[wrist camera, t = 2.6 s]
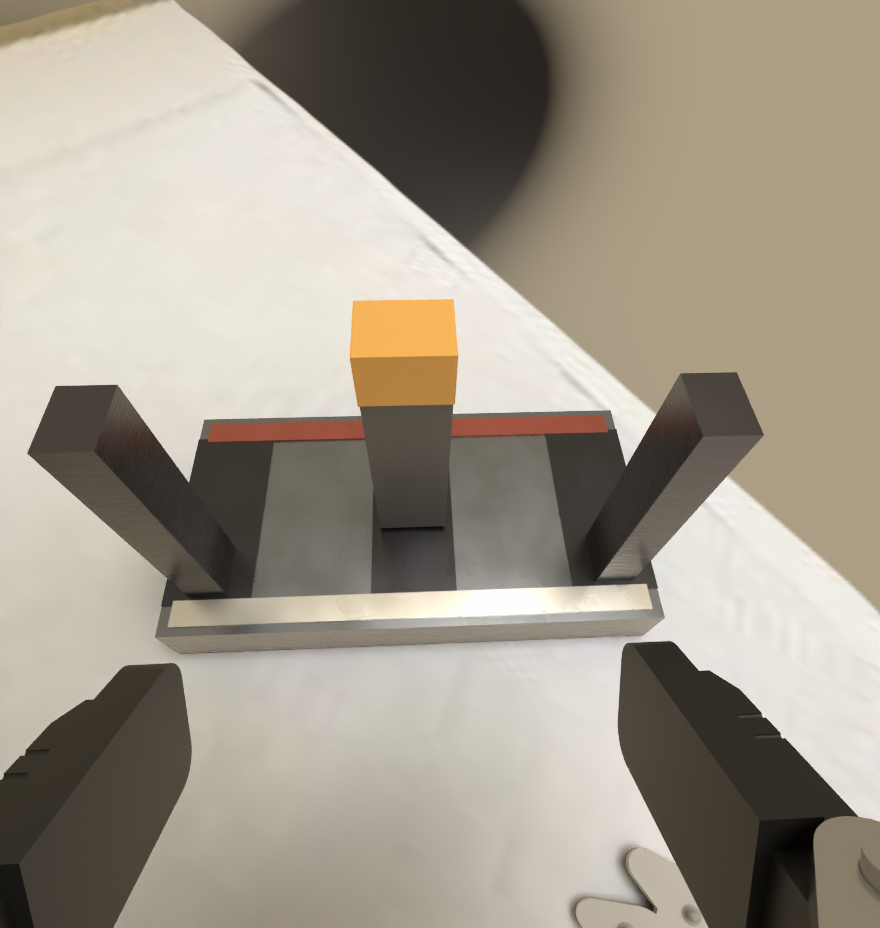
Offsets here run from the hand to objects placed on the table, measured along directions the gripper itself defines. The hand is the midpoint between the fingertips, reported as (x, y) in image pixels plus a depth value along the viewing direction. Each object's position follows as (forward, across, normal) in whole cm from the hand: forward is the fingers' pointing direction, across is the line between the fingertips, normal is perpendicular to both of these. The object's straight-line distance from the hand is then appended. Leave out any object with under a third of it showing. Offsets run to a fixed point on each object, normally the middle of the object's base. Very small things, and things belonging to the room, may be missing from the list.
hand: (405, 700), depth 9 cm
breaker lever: (+18, 0, +2) cm, 19 cm away
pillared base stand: (+21, 0, +5) cm, 21 cm away
